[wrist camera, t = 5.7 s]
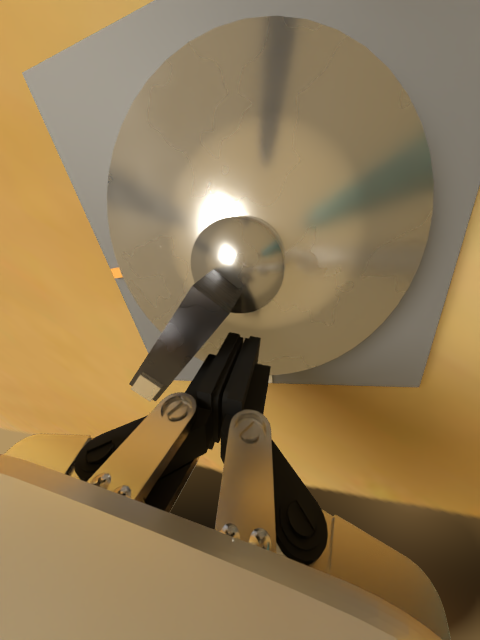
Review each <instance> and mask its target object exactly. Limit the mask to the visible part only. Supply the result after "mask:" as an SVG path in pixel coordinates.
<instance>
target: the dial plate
mask: <svg viewBox="0 0 480 640" xmlns="http://www.w3.org/2000/svg"><path fill="white" fill-rule="evenodd" d="M266 16H284V17H293V18H301V19H308V20H311V21H314V22H317V23H320V24H323V25H326V26H329V27H332V28H334V29H337V30H339V31H341V32H342V33H344V34H346V35H347V36H349V37H351V38H352V39H354V40H356V41H357V42H359V43H361V44H362V45H364V46H365V47H367V48H368V49H369V50H370V51H371V52H372V53H373V54H374V55H375V56H376V57H377V58H378V59H379V60H381V61H382V62H383V63H384V64H385V65H386V66H387V67H388V68H389V69H390V70H391V72H392V73H393V75H394V76H395V77H396V79H397V80H398V81H399V83H400V84H401V86H402V87H403V88H404V90H405V91H406V92H407V94H408V95H409V98H410V100H411V102H412V104H413V106H414V108H415V110H416V112H417V114H418V116H419V119H420V121H421V123H422V126H423V129H424V133H425V136H426V140H427V144H428V147H429V151H430V155H431V164H432V173H433V182H434V190H433V214H432V219H431V225H430V230H429V236H428V240H427V244H426V247H425V250H424V253H423V256H422V259H421V262H420V265H419V267H418V269H417V271H416V273H415V275H414V277H413V280H412V282H411V284H410V286H409V288H408V289H407V291H406V292H405V294H404V295H403V297H402V299H401V300H400V302H399V303H398V305H397V306H396V307H395V309H394V310H393V311H392V312H391V314H390V315H389V316H388V317H387V318H386V320H385V321H384V322H383V323H382V324H381V325H380V326H379V327H378V328H377V329H376V330H375V331H374V332H373V333H372V334H371V335H370V336H368V337H367V338H366V339H365V340H363V341H362V342H361V343H359V344H358V345H357V346H355V347H354V348H353V349H351V350H349V351H348V352H346V353H344V354H343V355H341V356H339V357H338V358H335V359H333V360H331V361H329V362H327V363H324V364H322V365H319V366H316V367H313V368H310V369H307V370H303V371H299V372H294V373H289V374H280V375H269V381H268V383H288V384H322V385H356V386H390V387H419V386H420V383H421V379H422V376H423V373H424V369H425V366H426V363H427V359H428V356H429V353H430V349H431V346H432V343H433V339H434V336H435V333H436V329H437V326H438V323H439V319H440V316H441V312H442V309H443V306H444V302H445V299H446V296H447V292H448V289H449V286H450V282H451V279H452V276H453V272H454V269H455V266H456V262H457V259H458V256H459V252H460V249H461V246H462V242H463V239H464V236H465V232H466V229H467V226H468V222H469V219H470V216H471V212H472V209H473V206H474V202H475V199H476V196H477V192H478V189H479V185H480V0H154V1H153V2H151V3H149V4H147V5H145V6H143V7H142V8H140V9H138V10H136V11H134V12H133V13H131V14H129V15H127V16H125V17H123V18H122V19H120V20H118V21H116V22H114V23H112V24H111V25H109V26H107V27H105V28H103V29H101V30H100V31H98V32H96V33H94V34H92V35H90V36H89V37H87V38H85V39H83V40H81V41H79V42H78V43H76V44H74V45H72V46H70V47H68V48H67V49H65V50H63V51H61V52H59V53H58V54H56V55H54V56H52V57H50V58H48V59H47V60H45V61H43V62H41V63H39V64H37V65H36V66H34V67H32V68H30V69H28V70H26V71H25V72H23V73H22V74H23V76H24V78H25V80H26V83H27V85H28V87H29V89H30V92H31V94H32V96H33V98H34V100H35V103H36V105H37V107H38V109H39V112H40V114H41V116H42V118H43V120H44V123H45V125H46V127H47V129H48V131H49V134H50V136H51V138H52V140H53V143H54V145H55V147H56V149H57V151H58V154H59V156H60V158H61V160H62V163H63V165H64V167H65V169H66V171H67V174H68V176H69V178H70V180H71V183H72V185H73V187H74V189H75V191H76V194H77V196H78V198H79V200H80V202H81V205H82V207H83V209H84V211H85V214H86V216H87V218H88V220H89V222H90V225H91V227H92V229H93V231H94V234H95V236H96V238H97V240H98V242H99V245H100V247H101V249H102V251H103V254H104V256H105V258H106V260H107V262H108V265H109V267H110V269H111V271H112V274H113V276H114V278H115V280H116V282H117V285H118V287H119V289H120V291H121V293H122V296H123V298H124V300H125V302H126V305H127V307H128V309H129V311H130V313H131V316H132V318H133V320H134V322H135V325H136V327H137V329H138V331H139V333H140V336H141V338H142V340H143V342H144V345H145V347H146V349H147V351H148V353H149V352H150V351H151V349H152V348H153V346H154V345H155V343H156V341H157V340H158V338H159V337H160V335H161V334H162V333H161V332H160V331H159V330H158V329H157V328H156V327H155V325H154V324H153V323H152V322H151V321H150V320H149V319H148V318H147V316H146V315H145V314H144V312H143V311H142V310H141V308H140V307H139V305H138V304H137V303H136V301H135V299H134V297H133V296H132V294H131V292H130V291H129V289H128V287H127V285H126V283H125V280H124V278H123V276H122V274H121V272H120V269H119V266H118V263H117V260H116V257H115V254H114V250H113V246H112V242H111V238H110V231H109V224H108V216H107V188H108V175H109V169H110V164H111V159H112V154H113V149H114V146H115V143H116V140H117V137H118V134H119V131H120V128H121V125H122V123H123V121H124V119H125V117H126V115H127V113H128V111H129V109H130V107H131V105H132V103H133V101H134V100H135V98H136V97H137V95H138V94H139V92H140V91H141V89H142V88H143V86H144V85H145V83H146V82H147V80H148V79H149V78H150V77H151V76H152V75H153V74H154V73H155V71H156V70H157V69H158V68H159V67H160V66H161V65H162V64H163V63H164V62H165V60H166V59H168V58H169V57H170V56H172V55H173V54H174V53H175V52H177V51H178V50H179V49H180V48H182V47H183V46H184V45H185V44H187V43H188V42H189V41H191V40H193V39H195V38H197V37H199V36H201V35H202V34H204V33H206V32H208V31H210V30H212V29H214V28H216V27H219V26H222V25H225V24H229V23H232V22H235V21H238V20H242V19H245V18H255V17H266ZM203 362H204V361H202V360H200V359H198V358H196V357H193V358H192V359H191V360H190V361H189V363H188V364H187V365H186V366H185V367H184V368H183V370H182V371H181V372H180V373H179V374H178V376H177V377H176V378H175V379H174V380H186V381H192V380H193V379H194V377H195V375H196V374H197V372H198V371H199V369H200V367H201V366H202V364H203Z"/></svg>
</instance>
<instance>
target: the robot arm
mask: <svg viewBox="0 0 480 640" xmlns="http://www.w3.org/2000/svg"><path fill="white" fill-rule="evenodd" d="M260 341H261V338H259V337H254V336H250V337H249V338H245V340H244V343H243V337H240V334H237V333H232V332H229V333H228V335H227V337H226V339H225V340H224V342H223V344H222V346H221V348H220V349H219V351H218V353H217V355H214V354H209V355H208V356H207V358H206V359H205V361H204V362H203V364H202V366H201V367H200V369H199V371H198V372H197V374H196V375H195V377H194V379H193V380H192V382H191V384H190V385H189V387H188V388H187V390H186V392H185V393H174V394H171V395H169V396H167V397H165V398H164V399H163V400H162V401H161V402H160V403H159V404H158V405H157V406H156V407H155V408H154V409H153V411H152V412H151V413H150V414H149V415H148V416H145V417H143V418H141V419H138V420H136V421H133V422H131V423H128V424H126V425H123V426H121V427H118V428H116V429H113V430H111V431H108V432H106V433H104V434H101V435H99V436H97V437H95V438H91V436H90V435H67V434H34V435H31V436H29V437H26V438H24V439H22V440H21V441H19V442H17V443H16V444H15V445H13V446H12V447H11V448H10V449H9V450H7V452H6V453H5V454H4V455H3V454H0V640H451V638H450V634H449V629H448V625H447V620H446V616H445V612H444V609H443V606H442V603H441V600H440V597H439V596H438V593H437V591H436V590H435V588H434V586H433V585H432V583H431V581H430V580H429V578H428V577H427V576H426V575H425V574H424V572H423V571H422V570H421V569H420V568H419V567H418V566H417V565H416V564H415V563H413V562H412V561H411V560H410V559H408V558H407V557H405V556H404V555H402V554H400V553H399V552H397V551H395V550H394V549H392V548H390V547H389V546H387V545H385V544H383V543H382V542H380V541H379V540H377V539H375V538H374V537H372V536H370V535H369V534H367V533H365V532H363V531H362V530H360V529H359V528H357V527H355V526H354V525H352V524H350V523H349V522H347V521H345V520H344V519H342V518H340V517H338V516H337V515H335V516H334V517H333V516H331V515H330V514H328V513H326V512H325V511H323V510H322V509H321V508H320V506H319V505H318V503H317V502H316V500H315V499H314V498H313V496H312V495H311V493H310V492H309V490H308V489H307V488H306V486H305V485H304V484H303V482H302V481H301V479H300V478H299V477H298V475H297V474H296V472H295V471H294V470H293V468H292V467H291V465H290V464H289V463H288V461H287V460H286V458H285V457H284V456H283V454H282V453H281V452H280V450H279V449H278V447H277V446H276V445H275V443H274V442H273V440H272V439H271V428H270V424H269V422H268V420H267V418H266V417H265V416H264V415H263V412H264V406H265V399H266V393H267V387H268V381H269V375H270V369H271V366H267V365H262V364H258V357H259V349H260ZM220 438H221V459H222V461H223V463H224V468H223V475H222V482H221V489H220V496H219V503H218V510H217V517H216V524H215V530H213V529H211V528H208V527H205V526H203V525H200V524H197V523H195V522H192V521H189V520H187V519H184V518H181V517H179V516H176V515H173V514H171V513H170V511H171V509H172V507H173V505H174V504H175V502H176V500H177V498H178V496H179V495H180V493H181V491H182V489H183V487H184V486H185V484H186V482H187V480H188V478H189V476H190V475H191V473H192V471H193V469H194V467H195V466H196V464H197V462H198V459H199V456H201V455H203V454H205V453H206V452H207V450H208V449H212V448H213V446H214V443H215V442H217V443H219V441H220Z"/></svg>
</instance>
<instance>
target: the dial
mask: <svg viewBox="0 0 480 640" xmlns="http://www.w3.org/2000/svg"><path fill="white" fill-rule="evenodd" d="M433 190H434V182H433V173H432V164H431V155H430V151H429V147H428V144H427V140H426V136H425V133H424V129H423V126H422V123H421V121H420V119H419V116H418V114H417V112H416V110H415V108H414V106H413V104H412V102H411V100H410V98H409V95H408V94H407V92H406V91H405V90H404V88H403V87H402V86H401V84H400V83H399V81H398V80H397V79H396V77H395V76H394V75H393V73H392V72H391V70H390V69H389V68H388V67H387V66H386V65H385V64H384V63H383V62H382V61H381V60H379V59H378V58H377V57H376V56H375V55H374V54H373V53H372V52H371V51H370V50H369V49H368V48H367V47H365V46H364V45H362V44H361V43H359V42H357V41H356V40H354V39H352V38H351V37H349V36H347V35H346V34H344V33H342V32H341V31H339V30H337V29H334V28H332V27H329V26H326V25H323V24H320V23H317V22H314V21H311V20H308V19H301V18H293V17H284V16H266V17H255V18H245V19H242V20H238V21H235V22H232V23H229V24H225V25H222V26H219V27H216V28H214V29H212V30H210V31H208V32H206V33H204V34H202V35H201V36H199V37H197V38H195V39H193V40H191V41H189V42H188V43H187V44H185V45H184V46H183V47H182V48H180V49H179V50H178V51H177V52H175V53H174V54H173V55H172V56H170V57H169V58H168V59H166V60H165V62H164V63H163V64H162V65H161V66H160V67H159V68H158V69H157V70H156V71H155V73H154V74H153V75H152V76H151V77H150V78H149V79H148V80H147V82H146V83H145V85H144V86H143V88H142V89H141V91H140V92H139V94H138V95H137V97H136V98H135V100H134V101H133V103H132V105H131V107H130V109H129V111H128V113H127V115H126V117H125V119H124V121H123V123H122V125H121V128H120V131H119V134H118V137H117V140H116V143H115V146H114V149H113V154H112V159H111V164H110V169H109V175H108V188H107V216H108V224H109V231H110V238H111V242H112V246H113V250H114V254H115V257H116V260H117V263H118V266H119V269H120V272H121V274H122V276H123V278H124V280H125V283H126V285H127V287H128V289H129V291H130V292H131V294H132V296H133V297H134V299H135V301H136V303H137V304H138V305H139V307H140V308H141V310H142V311H143V312H144V314H145V315H146V316H147V318H148V319H149V320H150V321H151V322H152V323H153V324H154V325H155V327H156V328H157V329H158V330H159V331H160V332H161V333H162V334H161V335H160V337H159V338H158V340H157V341H156V343H155V345H154V346H153V348H152V349H151V351H150V352H149V354H148V355H147V357H146V359H145V360H144V362H143V363H142V365H141V366H140V368H139V370H138V371H137V373H136V374H135V376H134V377H133V379H132V381H131V382H130V385H131V386H132V388H131V389H132V390H133V391H135V392H136V393H138V394H139V395H141V396H142V397H144V398H145V399H147V400H149V401H151V400H152V399H153V400H154V401H156V400H157V399H158V398H159V397H160V396H161V395H162V393H163V392H164V391H165V390H166V389H167V387H168V386H169V385H170V384H171V383H172V382H173V380H174V379H175V378H176V377H177V376H178V374H179V373H180V372H181V371H182V370H183V368H184V367H185V366H186V365H187V364H188V363H189V361H190V360H191V359H192V358H193V357H196V358H198V359H200V360H202V361H205V359H206V358H207V356H208V355H209V354H214V355H217V353H218V351H219V349H220V348H221V346H222V344H223V342H224V340H225V339H226V337H227V335H228V333H229V332H232V333H237V334H240V337H243V343H244V340H245V338H249V337H250V336H254V337H259V338H261V341H260V349H259V357H258V364H262V365H267V366H271V369H270V375H280V374H289V373H294V372H299V371H303V370H307V369H310V368H313V367H316V366H319V365H322V364H324V363H327V362H329V361H331V360H333V359H335V358H338V357H339V356H341V355H343V354H344V353H346V352H348V351H349V350H351V349H353V348H354V347H355V346H357V345H358V344H359V343H361V342H362V341H363V340H365V339H366V338H367V337H368V336H370V335H371V334H372V333H373V332H374V331H375V330H376V329H377V328H378V327H379V326H380V325H381V324H382V323H383V322H384V321H385V320H386V318H387V317H388V316H389V315H390V314H391V312H392V311H393V310H394V309H395V307H396V306H397V305H398V303H399V302H400V300H401V299H402V297H403V295H404V294H405V292H406V291H407V289H408V288H409V286H410V284H411V282H412V280H413V277H414V275H415V273H416V271H417V269H418V267H419V265H420V262H421V259H422V256H423V253H424V250H425V247H426V244H427V240H428V236H429V230H430V225H431V219H432V214H433Z"/></svg>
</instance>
